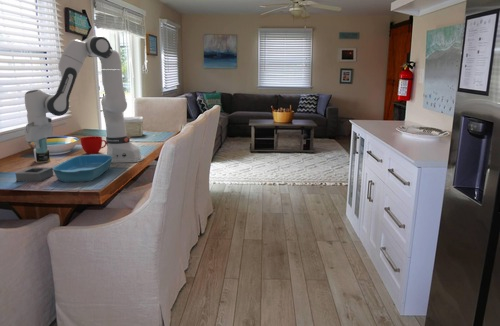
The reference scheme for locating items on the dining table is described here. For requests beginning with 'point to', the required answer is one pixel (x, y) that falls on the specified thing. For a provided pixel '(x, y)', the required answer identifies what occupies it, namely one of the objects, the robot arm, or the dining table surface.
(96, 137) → the ceramic cup
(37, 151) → the block
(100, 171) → the casserole dish
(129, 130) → the storage basket
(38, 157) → the medicine bottle
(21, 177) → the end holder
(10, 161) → the dining table surface
